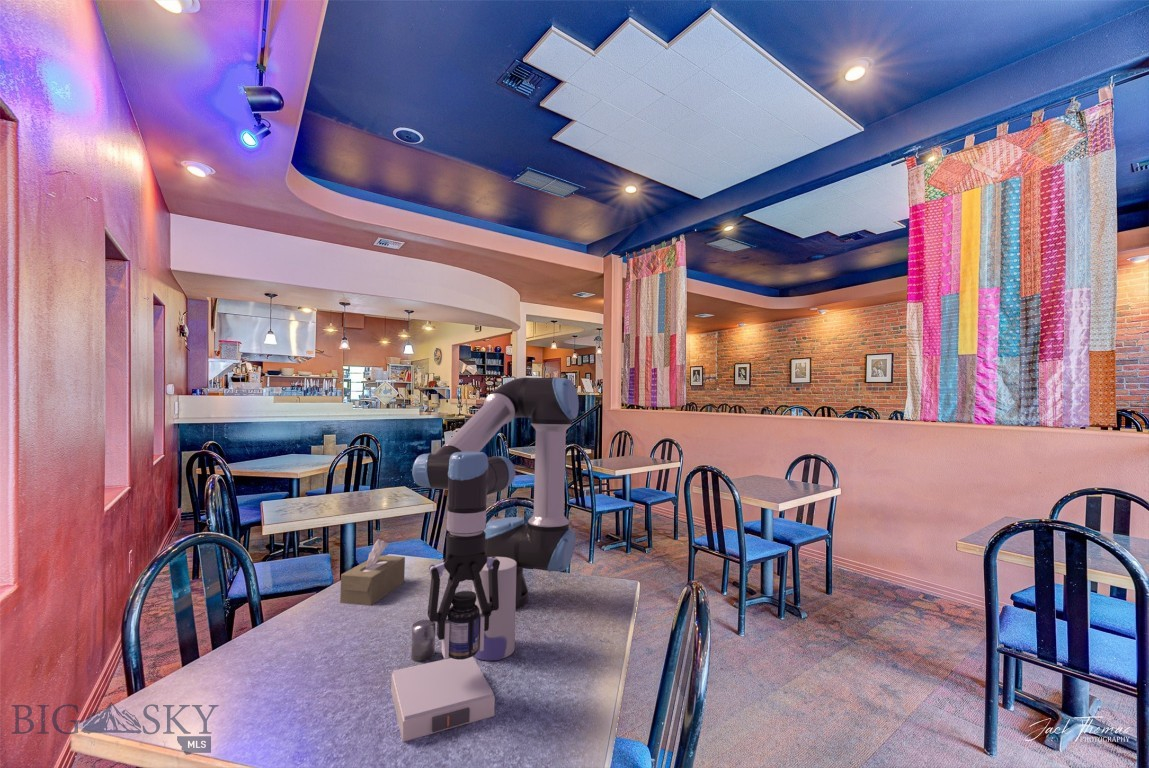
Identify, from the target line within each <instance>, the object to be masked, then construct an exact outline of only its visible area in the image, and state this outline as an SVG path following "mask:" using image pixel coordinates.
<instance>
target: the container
mask: <svg viewBox="0 0 1149 768" xmlns="http://www.w3.org/2000/svg"><path fill="white" fill-rule="evenodd" d="M488 558H492V557H488ZM496 558H497V559H498V560H499V561H500V565H499V569H498V597H499V608H498V610H496V611H495V610H494V611H492V612H491V615H490V616H489V629H488V631H484V651H479V649H478V652H477V653H476V654H475V655H474V656H473V658H475V659H478V660H482V661H487V662H488V661H499V660H503V659H505V658H507V657H509V656H511V655H512V654H513V653H514V651H515V644H516V643H515V641H516V639H515V638H516V609H515V608H516V565H517V563H516V561H515V560H513V559H511V558H506V557H496ZM480 577H481V580H482V585H483V589H484V592H485V596H486V599H487V602H488V603H489V580H488V568H487V564H485V566H484V567H483V569H482V570H481V572H480ZM471 591H472V592H474V593H476V591H475V588H474V584H473V583H472V590H471ZM475 605H477V606H478V608H479V610H480V611H481V608H480V605H479V601H478V598H477V594H476V602H475Z"/></svg>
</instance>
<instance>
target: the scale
mask: <svg viewBox="0 0 1149 768" xmlns="http://www.w3.org/2000/svg"><path fill="white" fill-rule="evenodd" d="M474 658H475V657H474V656H472V657H470V658H467V659H463V660H457V659H453V658H450V657H449V658H447V659H444V658H443V659H440V660H436V661H432V662H426V663H421V664H418V665H414V666H409V667H405V668H404V667H403V668H400V669H399V668H398V669H394V670H393V671H392V673H391V686H390V687H391V689H390V692H391V697H392V701H393V704H394V705H393V706H394V709H395V713H396V719H397V724H398V728H399V732H400V736H401V741H402V743H405V742H408V741H412V740H415V739H418V738H421V737H425V736H426V737H427V736H429V735H431V734H432V735H433V734H435V733H439V732H443V731H446V730H449V729H453V728H456V727H460V726H463V725H466V724H467V725H468V724H471V723H474V722H478V721H481V720H485V719H488V718H492V717H495V704H496V702H495V701H496V700H495V699H496V697H495V695H494V692H493V690H492V688H491V687H490V685H489V683H488V681H487V679H486V677H485V675H484V674H483V673H482V670H481V669H480V667H479V665H478V663H477V662H476V660H475V659H474Z"/></svg>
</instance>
